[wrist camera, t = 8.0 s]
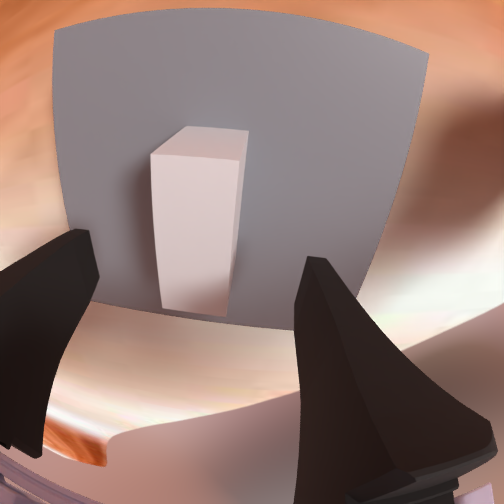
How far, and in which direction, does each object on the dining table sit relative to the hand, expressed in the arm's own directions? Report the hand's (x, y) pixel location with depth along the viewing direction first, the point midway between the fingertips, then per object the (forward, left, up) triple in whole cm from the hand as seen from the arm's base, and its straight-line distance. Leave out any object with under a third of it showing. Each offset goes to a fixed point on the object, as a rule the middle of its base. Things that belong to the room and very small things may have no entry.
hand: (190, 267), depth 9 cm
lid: (0, 0, -5) cm, 5 cm away
